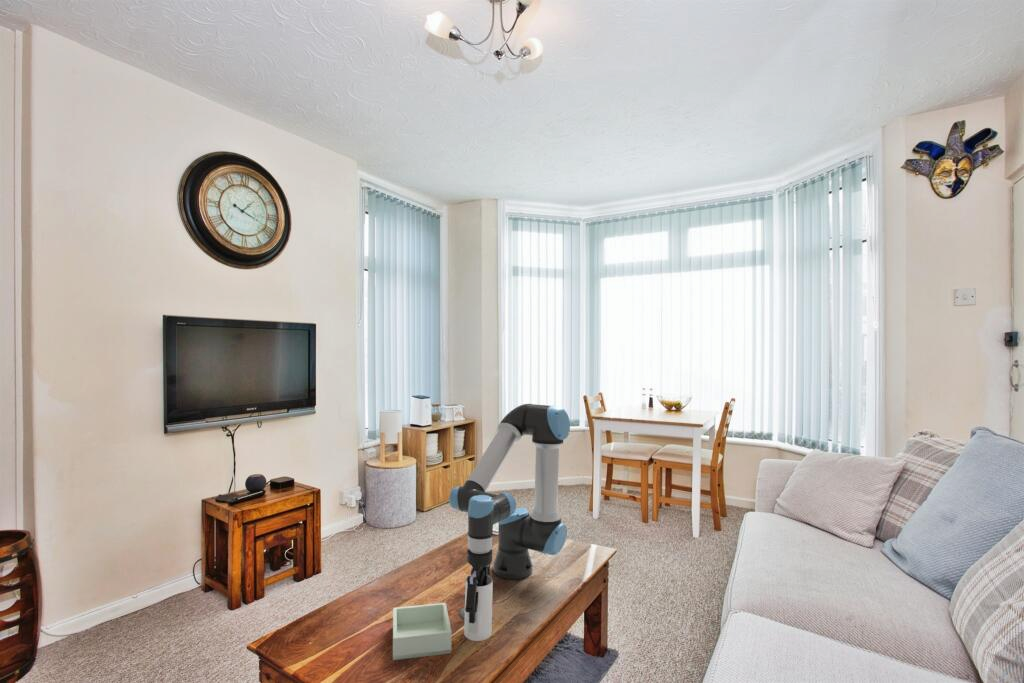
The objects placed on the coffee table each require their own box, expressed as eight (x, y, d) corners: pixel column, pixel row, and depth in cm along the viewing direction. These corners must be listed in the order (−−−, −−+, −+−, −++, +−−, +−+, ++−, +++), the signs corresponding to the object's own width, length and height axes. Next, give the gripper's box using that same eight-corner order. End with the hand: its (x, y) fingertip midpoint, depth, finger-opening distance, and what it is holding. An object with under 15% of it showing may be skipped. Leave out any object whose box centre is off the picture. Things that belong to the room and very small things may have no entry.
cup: (494, 627, 152) (496, 575, 152) (486, 643, 144) (488, 588, 144) (469, 623, 154) (470, 572, 154) (460, 638, 147) (461, 584, 147)
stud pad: (482, 605, 165) (482, 604, 165) (486, 618, 157) (486, 617, 157) (458, 608, 163) (458, 606, 163) (461, 621, 155) (461, 619, 155)
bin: (445, 621, 155) (445, 602, 155) (451, 653, 139) (451, 631, 140) (392, 627, 151) (393, 607, 151) (392, 660, 136) (393, 638, 136)
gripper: (480, 534, 161) (478, 604, 161) (454, 561, 140) (452, 641, 140) (502, 537, 158) (500, 608, 158) (479, 565, 138) (477, 646, 138)
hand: (478, 623), depth 149 cm, fingers closed on cup, 8 cm apart
